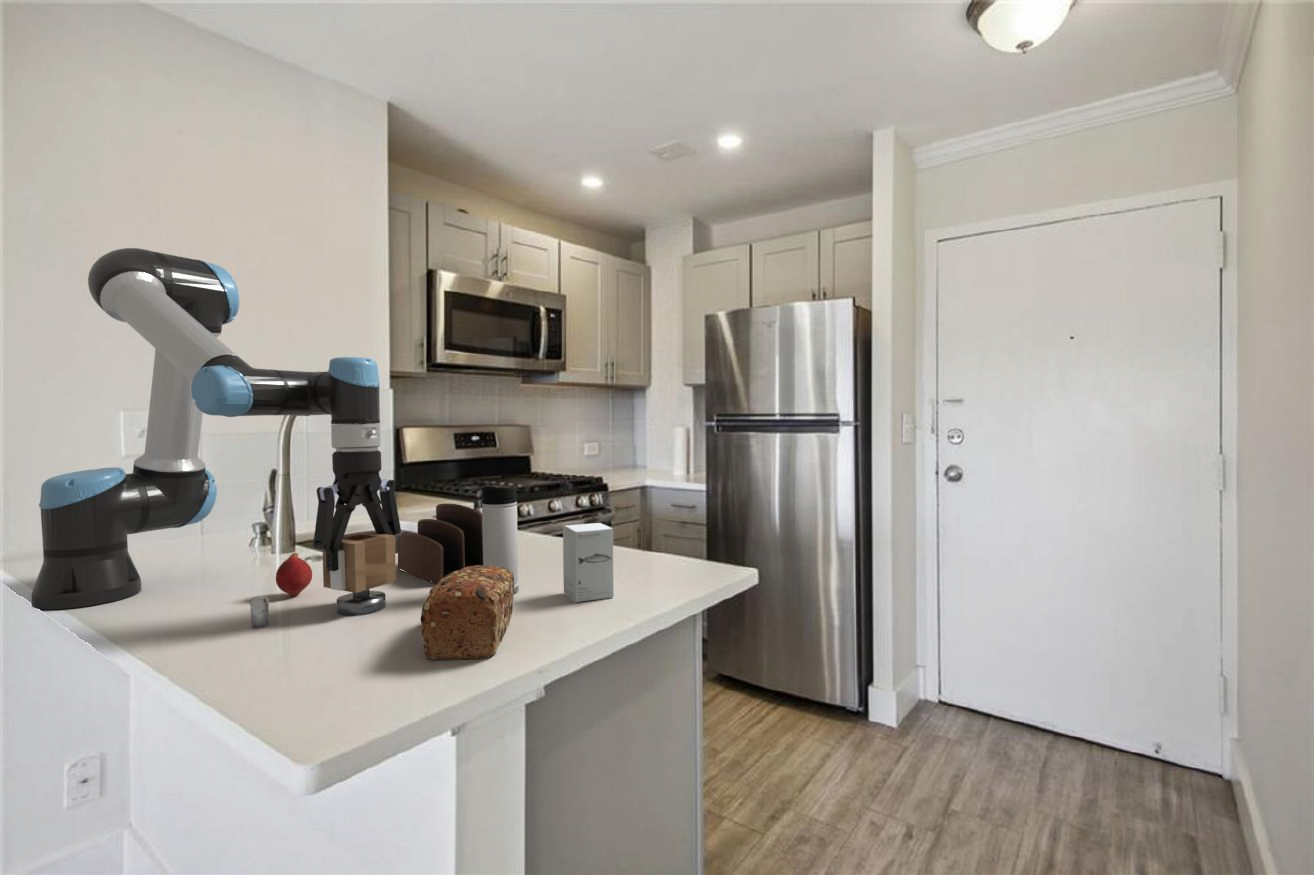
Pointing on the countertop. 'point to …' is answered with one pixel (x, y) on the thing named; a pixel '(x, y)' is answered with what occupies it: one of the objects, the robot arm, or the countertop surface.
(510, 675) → the countertop surface
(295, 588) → the onion
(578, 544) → the supplement box
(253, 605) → the grey rounded piece
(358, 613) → the hub
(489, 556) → the travel mug
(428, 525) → the letter holder
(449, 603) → the bread
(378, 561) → the collar
